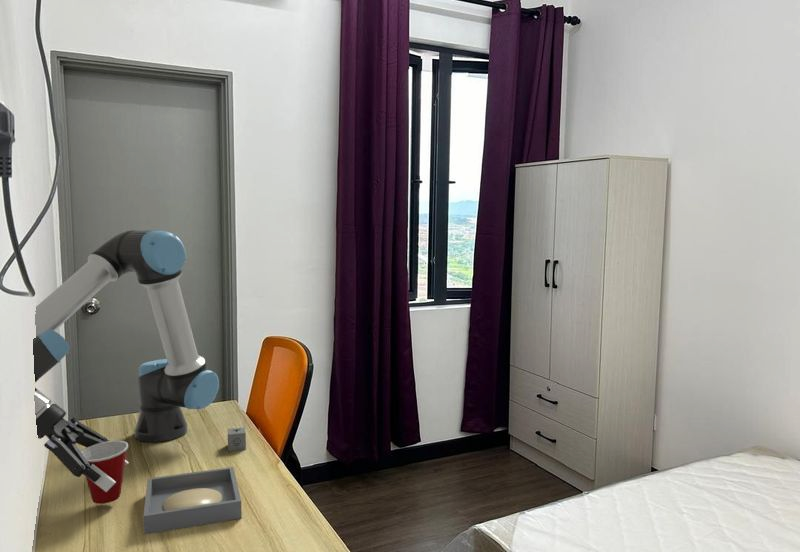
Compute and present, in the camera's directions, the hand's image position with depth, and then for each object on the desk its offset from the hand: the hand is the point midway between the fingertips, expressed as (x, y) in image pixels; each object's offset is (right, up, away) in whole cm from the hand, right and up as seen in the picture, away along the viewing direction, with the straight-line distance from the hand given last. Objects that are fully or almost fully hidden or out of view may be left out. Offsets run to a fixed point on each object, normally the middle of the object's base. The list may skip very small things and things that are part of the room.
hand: (118, 476), depth 141 cm
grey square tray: (+17, -7, 0) cm, 19 cm away
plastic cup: (-3, -5, 0) cm, 6 cm away
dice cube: (+18, -4, +37) cm, 41 cm away
